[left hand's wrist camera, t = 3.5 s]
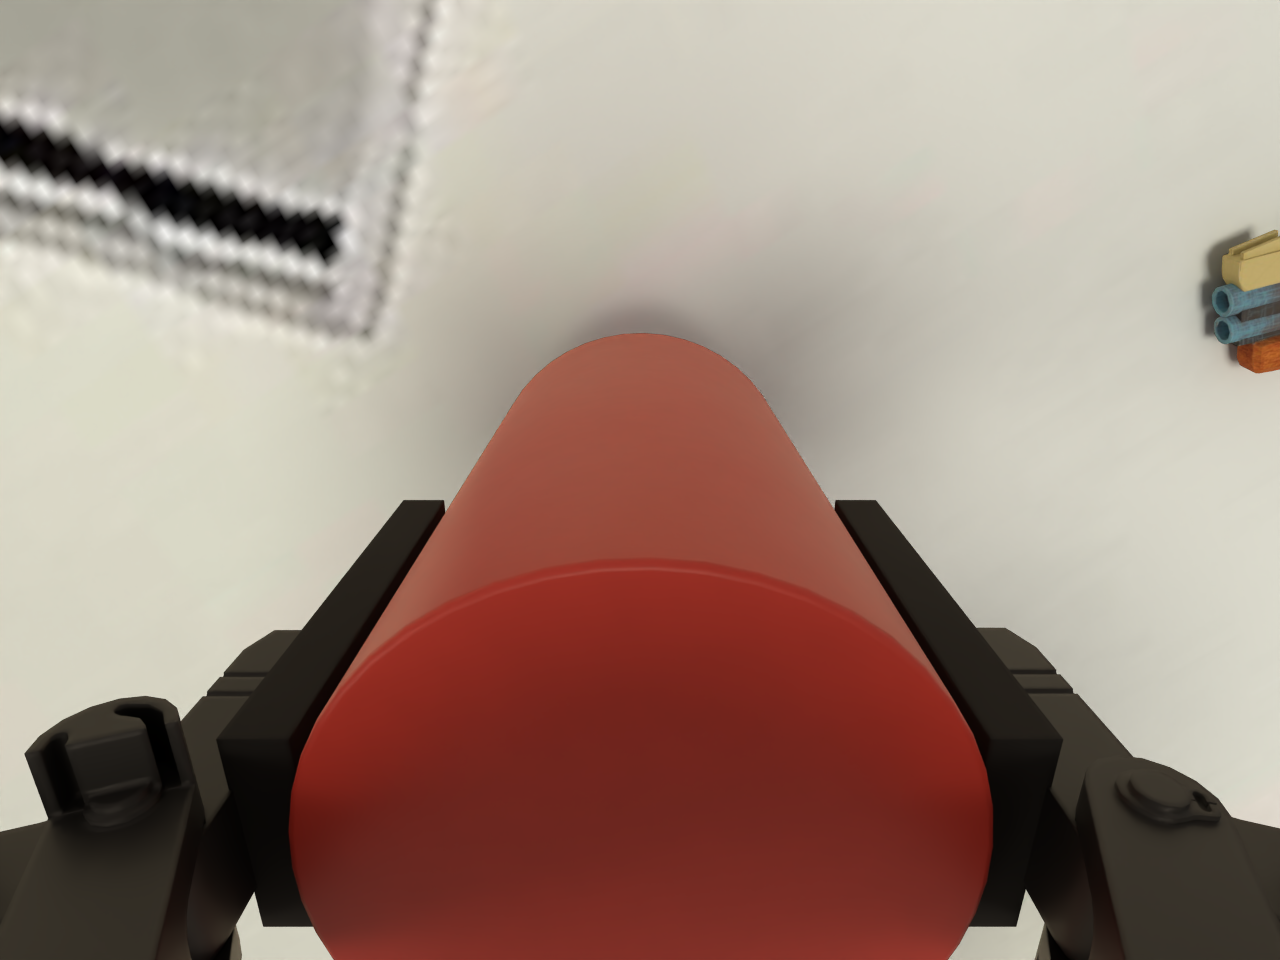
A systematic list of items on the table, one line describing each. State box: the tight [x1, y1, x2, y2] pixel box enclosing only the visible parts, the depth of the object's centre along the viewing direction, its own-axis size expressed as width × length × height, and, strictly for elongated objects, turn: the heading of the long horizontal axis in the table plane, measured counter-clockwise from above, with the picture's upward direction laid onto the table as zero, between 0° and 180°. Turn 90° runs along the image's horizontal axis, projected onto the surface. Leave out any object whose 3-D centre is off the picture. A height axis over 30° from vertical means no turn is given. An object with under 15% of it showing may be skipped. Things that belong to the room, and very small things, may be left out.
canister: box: [289, 333, 993, 960], centre depth 13 cm, size 7×7×12 cm
